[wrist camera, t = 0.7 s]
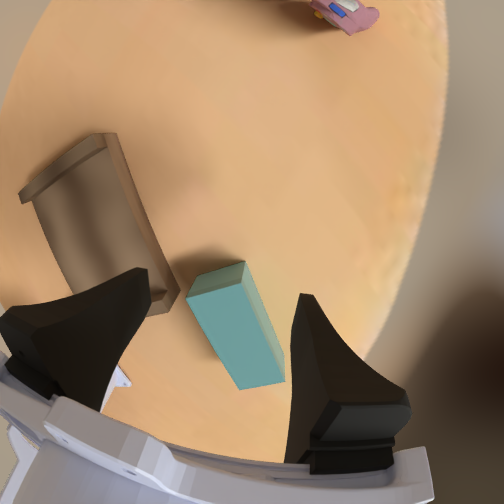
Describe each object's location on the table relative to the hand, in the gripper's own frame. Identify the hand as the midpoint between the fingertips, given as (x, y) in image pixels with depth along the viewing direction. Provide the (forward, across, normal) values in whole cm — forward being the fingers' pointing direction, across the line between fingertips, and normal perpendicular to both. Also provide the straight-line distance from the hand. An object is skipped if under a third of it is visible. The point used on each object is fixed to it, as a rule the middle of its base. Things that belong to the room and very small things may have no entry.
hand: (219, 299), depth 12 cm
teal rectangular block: (+10, 0, +9) cm, 13 cm away
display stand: (+9, +14, +2) cm, 17 cm away
